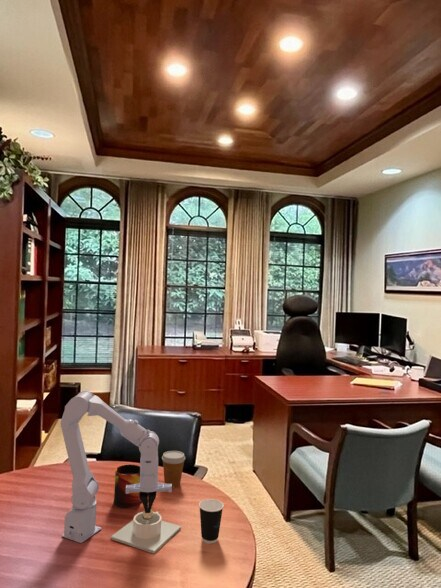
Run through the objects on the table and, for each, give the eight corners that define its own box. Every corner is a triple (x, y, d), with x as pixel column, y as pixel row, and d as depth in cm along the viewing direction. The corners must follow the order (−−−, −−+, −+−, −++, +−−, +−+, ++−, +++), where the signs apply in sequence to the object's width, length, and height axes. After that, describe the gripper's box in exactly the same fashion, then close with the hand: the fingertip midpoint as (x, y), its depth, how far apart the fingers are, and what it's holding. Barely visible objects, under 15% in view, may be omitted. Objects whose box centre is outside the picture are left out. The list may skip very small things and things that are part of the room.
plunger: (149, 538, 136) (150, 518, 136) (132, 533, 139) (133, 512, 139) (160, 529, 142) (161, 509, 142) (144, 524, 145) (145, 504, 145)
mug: (154, 498, 165) (156, 466, 165) (125, 511, 154) (127, 477, 154) (137, 490, 171) (138, 459, 171) (108, 502, 160) (109, 469, 160)
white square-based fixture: (154, 553, 130) (155, 536, 130) (110, 539, 136) (111, 522, 136) (181, 528, 144) (181, 513, 144) (140, 516, 151) (141, 502, 151)
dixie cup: (223, 546, 135) (224, 510, 135) (197, 546, 135) (199, 510, 135) (221, 532, 143) (222, 499, 143) (196, 532, 142) (198, 498, 143)
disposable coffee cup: (157, 481, 180) (159, 451, 180) (179, 477, 184) (180, 449, 184) (164, 490, 172) (166, 460, 172) (187, 487, 176) (188, 457, 176)
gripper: (172, 466, 145) (171, 507, 145) (127, 467, 144) (127, 509, 144) (171, 475, 138) (171, 518, 138) (124, 476, 137) (124, 520, 137)
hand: (148, 514), depth 140 cm, fingers closed, pressing on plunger
